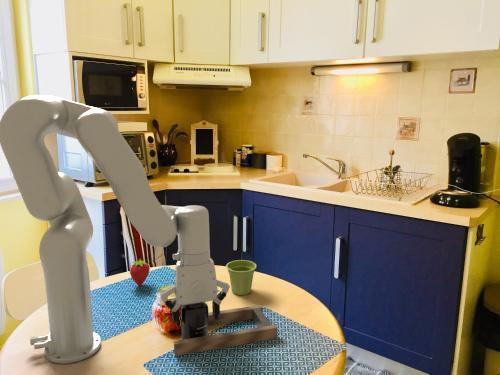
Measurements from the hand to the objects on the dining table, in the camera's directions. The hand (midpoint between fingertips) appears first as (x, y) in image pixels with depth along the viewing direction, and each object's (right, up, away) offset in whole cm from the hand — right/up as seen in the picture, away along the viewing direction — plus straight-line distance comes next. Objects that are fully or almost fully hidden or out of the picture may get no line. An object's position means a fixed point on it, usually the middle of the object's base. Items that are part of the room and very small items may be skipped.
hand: (196, 320), depth 107 cm
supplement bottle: (-1, -5, +1) cm, 5 cm away
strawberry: (-22, +2, +30) cm, 37 cm away
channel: (+6, -4, +3) cm, 8 cm away
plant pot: (+11, 0, +27) cm, 29 cm away
